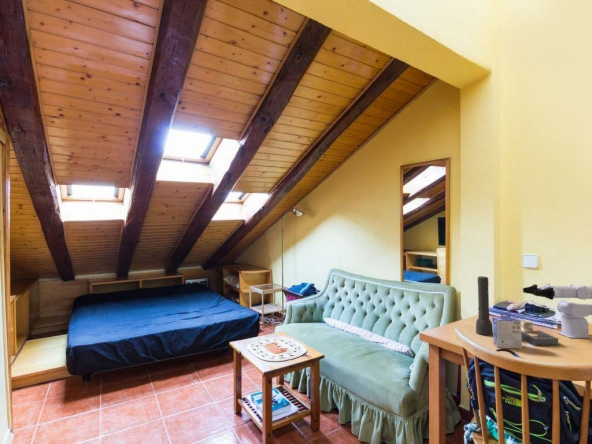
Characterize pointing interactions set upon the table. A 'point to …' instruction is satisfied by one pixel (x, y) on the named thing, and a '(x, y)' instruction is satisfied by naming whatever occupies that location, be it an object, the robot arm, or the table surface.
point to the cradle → (540, 339)
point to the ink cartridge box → (507, 332)
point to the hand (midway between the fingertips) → (528, 291)
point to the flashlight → (483, 308)
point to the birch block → (526, 326)
